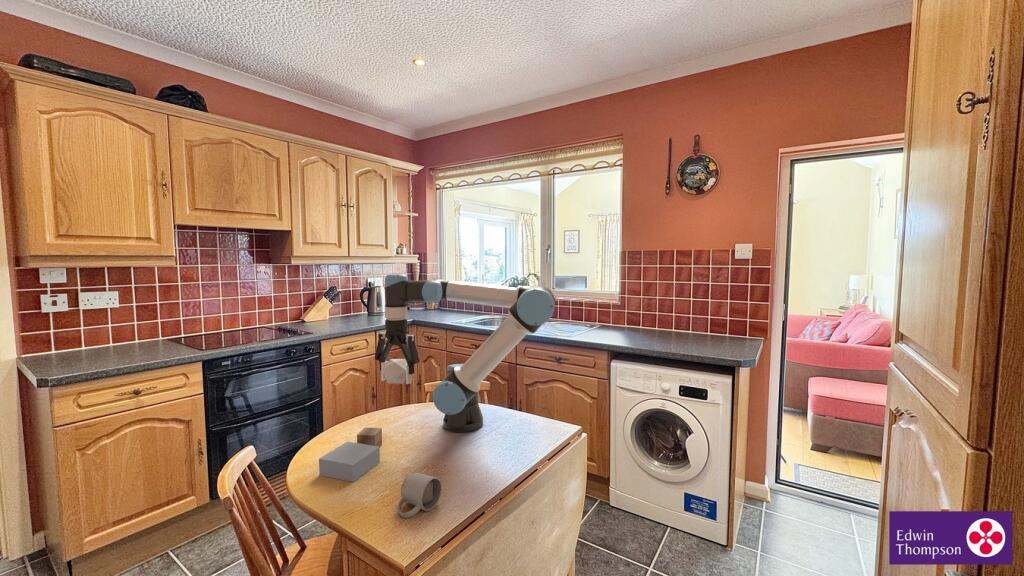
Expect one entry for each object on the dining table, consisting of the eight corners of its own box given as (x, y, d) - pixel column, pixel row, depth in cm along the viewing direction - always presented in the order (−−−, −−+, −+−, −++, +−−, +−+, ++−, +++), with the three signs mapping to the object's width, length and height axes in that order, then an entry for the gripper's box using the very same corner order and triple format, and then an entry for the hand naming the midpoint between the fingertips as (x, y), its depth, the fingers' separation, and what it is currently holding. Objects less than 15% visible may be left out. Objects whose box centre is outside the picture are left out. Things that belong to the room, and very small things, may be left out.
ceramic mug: (419, 492, 111) (418, 464, 110) (442, 501, 107) (442, 472, 106) (389, 514, 102) (388, 484, 101) (414, 524, 98) (412, 493, 97)
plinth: (379, 462, 127) (379, 446, 127) (353, 482, 116) (353, 464, 116) (347, 456, 131) (347, 441, 131) (319, 475, 120) (318, 458, 120)
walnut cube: (382, 445, 140) (381, 427, 139) (375, 453, 134) (374, 435, 133) (364, 444, 140) (364, 427, 140) (357, 452, 134) (356, 434, 134)
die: (394, 389, 139) (412, 364, 141) (373, 375, 140) (391, 350, 143) (401, 391, 147) (418, 367, 149) (381, 377, 149) (398, 353, 151)
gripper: (429, 319, 143) (429, 382, 145) (377, 315, 151) (377, 375, 152) (417, 322, 136) (417, 388, 138) (363, 318, 144) (363, 380, 145)
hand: (396, 381), depth 145 cm, fingers closed on die, 10 cm apart
